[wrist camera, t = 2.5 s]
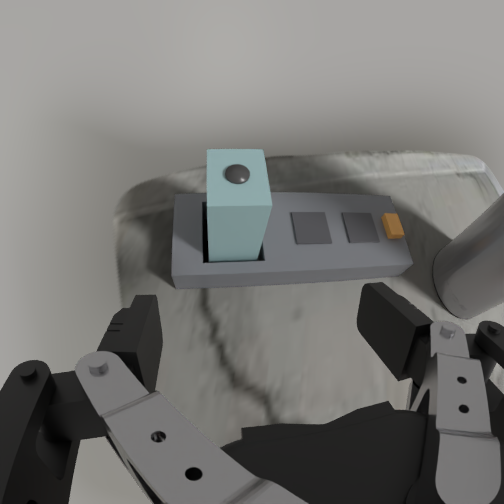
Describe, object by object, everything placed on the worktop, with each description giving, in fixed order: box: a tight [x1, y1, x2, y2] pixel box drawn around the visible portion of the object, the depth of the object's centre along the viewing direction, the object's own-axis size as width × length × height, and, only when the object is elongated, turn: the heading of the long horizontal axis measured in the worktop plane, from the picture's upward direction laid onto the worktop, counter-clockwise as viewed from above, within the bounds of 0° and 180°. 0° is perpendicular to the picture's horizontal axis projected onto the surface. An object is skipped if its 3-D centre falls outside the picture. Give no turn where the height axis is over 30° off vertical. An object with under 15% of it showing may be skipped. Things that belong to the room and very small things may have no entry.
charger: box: [207, 149, 272, 263], centre depth 24 cm, size 4×5×10 cm
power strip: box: [171, 192, 413, 289], centre depth 27 cm, size 22×8×4 cm, turn 95°
